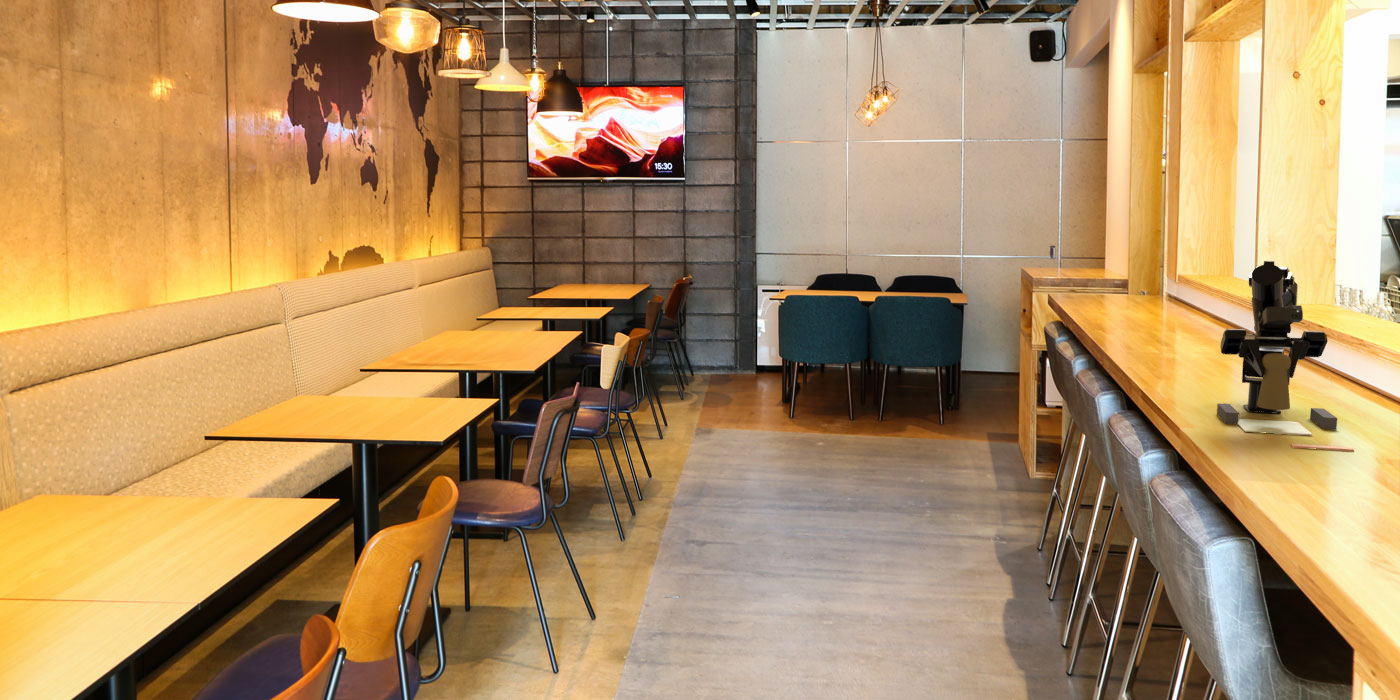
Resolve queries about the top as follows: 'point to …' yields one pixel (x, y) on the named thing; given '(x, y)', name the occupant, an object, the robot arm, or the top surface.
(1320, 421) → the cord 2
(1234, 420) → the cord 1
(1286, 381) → the cork
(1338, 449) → the off strip
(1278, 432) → the pad
